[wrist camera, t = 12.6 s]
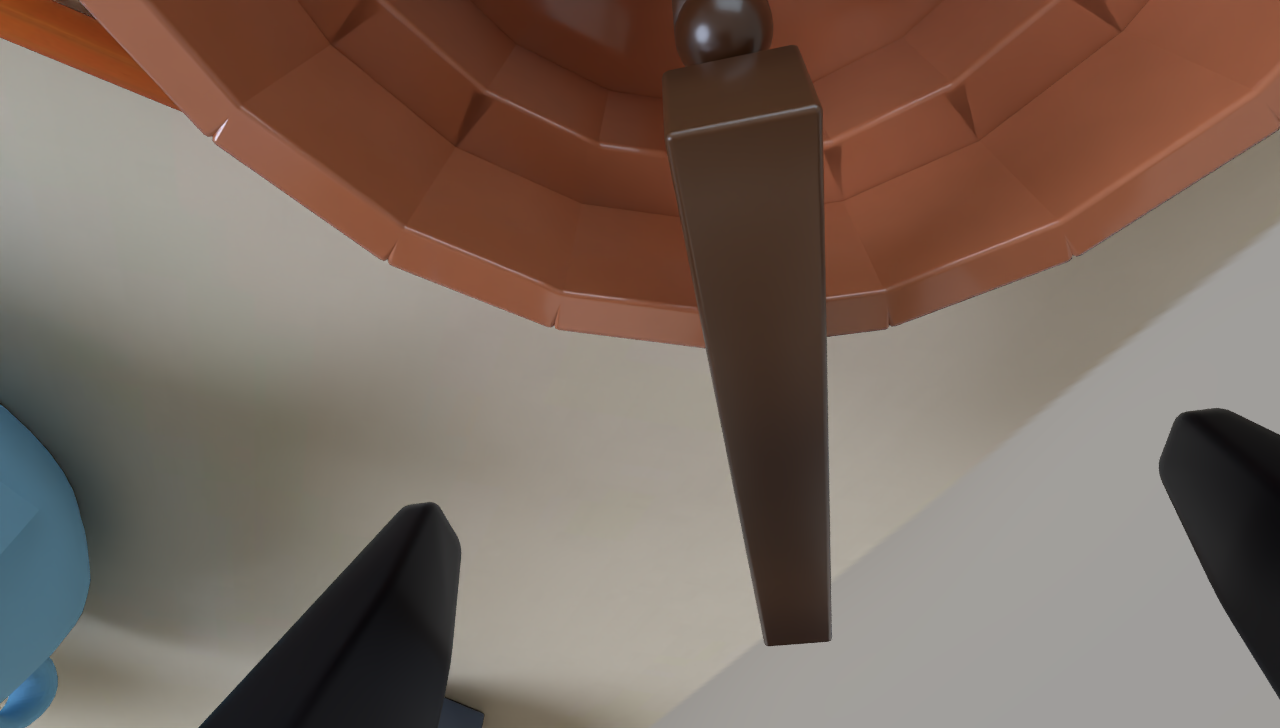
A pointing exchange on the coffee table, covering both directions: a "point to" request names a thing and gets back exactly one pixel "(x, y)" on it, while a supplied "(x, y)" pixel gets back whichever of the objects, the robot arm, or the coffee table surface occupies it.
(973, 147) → the bowl
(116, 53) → the pencil
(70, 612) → the teapot
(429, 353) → the coffee table surface
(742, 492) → the brown round-ended long piece
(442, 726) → the slate blue rectangular block
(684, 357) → the coffee table surface
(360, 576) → the robot arm
